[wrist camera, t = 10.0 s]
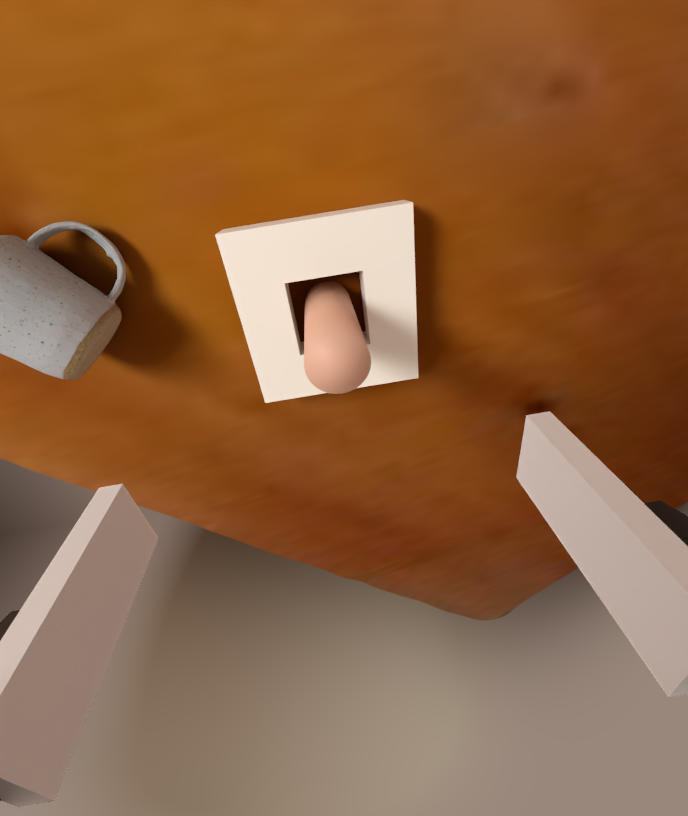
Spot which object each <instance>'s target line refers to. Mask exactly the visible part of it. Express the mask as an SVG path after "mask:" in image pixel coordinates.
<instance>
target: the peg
mask: <svg viewBox="0 0 688 816" xmlns="http://www.w3.org/2000/svg"><path fill="white" fill-rule="evenodd" d="M370 368H371V357H370V353H369V350H368V347H367V345H366V342H365V339H364V336H363V333H362V330H361V328H360V325H359V322H358V319H357V316H356V313H355V311H354V308H353V305H352V302H351V299H350V297H349V294H348V292H347V291H346V289H345V288H344V287H343V286H342V285H340V284H338V283H336V282H333V281H323V282H319V283H317V284H315V285H314V286H313V287H312V288H311V289H310V290H309V291H308V293H307V295H306V298H305V321H304V369H305V373H306V376H307V378H308V379H309V381H310V382H311V383H312V384H313V385H314V386H315V387H316V388H318V389H320V390H322V391H324V392H327V393H332V394H340V393H346V392H349V391H352V390H354V389H355V388H357V387H358V386H360V385H361V384H362V383H363V382H364V381H365V379H366V378H367V376H368V374H369V372H370Z"/></svg>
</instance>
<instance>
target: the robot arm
mask: <svg viewBox="0 0 688 816" xmlns="http://www.w3.org/2000/svg"><path fill="white" fill-rule="evenodd" d="M516 478H517V479H518V481H519V482H520V483H521V485H522V486H523V488H524V489H525V491H526V492H527V494H528V495H529V496H530V498H531V499H532V501H533V502H534V504H535V505H536V507H537V508H538V509H539V511H540V512H541V514H542V515H543V517H544V518H545V520H546V521H547V523H548V524H549V525H550V527H551V528H552V530H553V531H554V533H555V534H556V536H557V537H558V538H559V540H560V541H561V543H562V544H563V546H564V547H565V549H566V550H567V551H568V553H569V554H570V556H571V557H572V559H573V560H574V562H575V563H576V564H577V566H578V567H579V569H580V570H581V572H582V573H583V575H584V576H585V577H586V579H587V580H588V582H589V583H590V585H591V586H592V588H593V589H594V590H595V592H596V593H597V595H598V596H599V598H600V599H601V601H602V602H603V603H604V605H605V606H606V608H607V609H608V611H609V612H610V613H611V615H612V616H613V618H614V619H615V621H616V622H617V624H618V625H619V627H620V628H621V629H622V631H623V632H624V634H625V635H626V637H627V638H628V640H629V641H630V642H631V644H632V645H633V647H634V648H635V650H636V651H637V653H638V654H639V655H640V657H641V658H642V660H643V661H644V663H645V664H646V666H647V667H648V668H649V670H650V671H651V673H652V674H653V676H654V677H655V679H656V680H657V681H658V683H659V684H660V685H661V687H662V689H663V690H664V692H665V693H666V694H667V696H668V697H672V696H679V695H685V694H688V517H687V516H686V515H685V514H683V513H681V512H679V511H678V510H676V509H674V508H672V507H670V506H669V505H667V504H665V503H663V502H662V501H656V502H650V503H643V502H642V501H641V500H640V499H639V498H638V497H637V496H636V495H635V494H634V493H633V492H632V491H631V490H630V489H629V488H628V487H627V486H626V485H625V484H623V483H622V482H621V481H620V480H619V479H618V478H617V477H616V476H615V475H614V474H613V473H612V472H611V471H610V470H609V469H608V468H607V467H606V466H605V465H604V464H603V463H602V462H601V461H600V460H599V459H598V458H597V457H596V456H595V455H594V454H593V453H592V452H591V451H590V450H589V449H588V448H587V447H586V446H585V445H584V444H583V443H582V442H581V441H580V440H579V439H578V438H577V437H576V436H574V435H573V434H572V433H571V432H570V431H569V430H568V429H567V428H566V427H565V426H564V425H563V424H562V423H561V422H560V421H559V420H558V419H557V418H556V417H555V416H554V415H553V414H552V413H551V412H550V411H549V412H544V413H538V414H532V415H526V421H525V427H524V433H523V439H522V446H521V452H520V458H519V464H518V471H517V477H516ZM157 540H158V537H157V535H156V534H155V532H154V531H153V529H152V527H151V526H150V525H149V523H148V521H147V520H146V518H145V517H144V515H143V514H142V512H141V511H140V509H139V508H138V506H137V505H136V503H135V502H134V500H133V499H132V497H131V496H130V494H129V492H128V491H127V489H126V488H125V486H124V485H123V484H118V485H113V486H107V487H101V488H99V489H98V490H97V492H96V494H95V495H94V497H93V498H92V500H91V501H90V503H89V504H88V506H87V507H86V509H85V511H84V512H83V514H82V515H81V517H80V518H79V520H78V521H77V523H76V524H75V526H74V528H73V529H72V531H71V532H70V534H69V535H68V537H67V538H66V540H65V542H64V543H63V545H62V546H61V548H60V549H59V551H58V552H57V554H56V556H55V557H54V559H53V560H52V562H51V563H50V565H49V567H48V568H47V570H46V571H45V573H44V574H43V576H42V577H41V579H40V580H39V582H38V583H37V585H36V586H35V588H34V590H33V591H32V593H31V594H30V596H29V597H28V599H27V600H26V602H25V604H24V605H23V607H22V608H21V610H18V611H12V612H10V613H9V614H8V616H6V618H4V619H3V621H2V622H0V800H1V801H4V802H7V803H9V804H12V805H15V806H18V807H21V806H27V805H33V804H39V803H45V802H51V801H55V798H56V796H57V793H58V791H59V788H60V786H61V783H62V780H63V778H64V775H65V773H66V770H67V768H68V765H69V763H70V760H71V758H72V755H73V753H74V750H75V748H76V745H77V743H78V740H79V737H80V735H81V732H82V730H83V727H84V725H85V722H86V720H87V717H88V715H89V712H90V710H91V707H92V705H93V702H94V700H95V697H96V694H97V692H98V689H99V687H100V685H101V682H102V679H103V677H104V674H105V672H106V669H107V667H108V664H109V662H110V659H111V657H112V654H113V652H114V649H115V647H116V644H117V642H118V639H119V636H120V634H121V631H122V629H123V626H124V624H125V621H126V619H127V616H128V613H129V611H130V609H131V606H132V604H133V601H134V599H135V596H136V594H137V591H138V589H139V586H140V584H141V581H142V578H143V576H144V573H145V571H146V568H147V566H148V563H149V561H150V558H151V556H152V553H153V551H154V548H155V546H156V543H157Z"/></svg>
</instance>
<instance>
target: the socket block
mask: <svg viewBox="0 0 688 816" xmlns="http://www.w3.org/2000/svg"><path fill="white" fill-rule="evenodd" d="M215 236H216V239H217V243H218V246H219V249H220V253H221V256H222V259H223V263H224V266H225V270H226V273H227V276H228V280H229V283H230V286H231V290H232V293H233V296H234V300H235V303H236V306H237V310H238V313H239V316H240V320H241V323H242V326H243V330H244V333H245V336H246V340H247V343H248V347H249V350H250V353H251V357H252V360H253V363H254V367H255V370H256V373H257V377H258V380H259V383H260V387H261V390H262V393H263V397H264V400H265V403H268V402H274V401H280V400H286V399H292V398H299V397H305V396H311V395H317V394H323V393H327V392H324V391H322V390H320V389H318V388H316V387H315V386H314V385H313V384H312V383H311V382H310V381H309V379H308V378H307V376H306V373H305V369H304V342H301V341H300V336H299V332H298V327H297V322H296V318H295V313H294V308H293V304H292V299H291V294H290V290H289V285H288V283H290V282H297V281H303V280H309V279H315V278H321V277H327V276H333V275H339V274H346V273H352V272H358V271H359V276H360V285H361V294H362V303H363V312H364V321H365V330H366V331H365V332H362V333H363V336H364V339H365V342H366V345H367V347H368V350H369V353H370V357H371V368H370V372H369V374H368V376H367V378H366V379H365V381H364V382H363V383H362V384H361V385H360V386H358V387H357V388H360V387H366V386H372V385H378V384H384V383H391V382H397V381H403V380H409V379H415V378H418V346H417V312H416V279H415V246H414V213H413V202H410V201H406V200H400V201H393V202H387V203H381V204H375V205H369V206H363V207H357V208H351V209H344V210H338V211H332V212H326V213H320V214H314V215H308V216H301V217H295V218H289V219H283V220H277V221H271V222H265V223H258V224H252V225H246V226H240V227H234V228H228V229H223V230H221V231H220V232H218V233H217V234H215Z"/></svg>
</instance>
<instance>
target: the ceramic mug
mask: <svg viewBox="0 0 688 816" xmlns="http://www.w3.org/2000/svg"><path fill="white" fill-rule="evenodd" d="M67 230H79V231H81V232H83V233H85V234H87V235H88V236H89V237H91V238H92V239H93V240H95V241H96V242H97V243H98V244H99V245H100V246H102V247H103V248H104V250H105V251H106V253H107V256H109V257H110V258H112V259H113V260H114V262H115V264H116V265H117V280H116V282H115V285H114V287H113V290H112V291H111V292H110V294H109V295H108V296H106V295H105V294H103V293H102V292H100V291H99V290H98V289H97V288H95V287H93V286H91V285H90V284H88V283H87V282H86V281H84V280H83V279H80V278H79V277H77V276H76V275H74V274H73V273H72V272H70V271H69V270H68V269H66V268H64V267H63V266H62V265H61V264H59V263H58V262H56V261H55V260H53V259H52V258H51V257H49V256H48V255H46V254H44V253H43V252H42V251H41V250H39V246H40V245H41V244H42V243H43V242H44V241H45V240H47V239H48V238H49V237H51V236H53V235H55V234H57V233H60V232H62V231H67ZM125 280H126V265H125V263H124V260H123V257H122V255H121V254H120V252H119V250H118V249H117V247H116V246H115V245H114V244H113V243H112V242H111V241H110V240H109V239H107V238H106V237H105V236H104V235H102V234H101V233H100V232H99V231H97V230H96V229H94V228H92V227H90V226H89V225H86V224H83V223H78V222H74V221H66V222H57V223H52V224H50V225H48V226H46V227H44V228H42V229H40V230H38V231H37V232H35V233H34V234H33V235H32V236H31V237H29V238H28V239H27V241H24V240H23V239H22V238H20V237H17V236H14V235H3V236H0V353H1V354H3V355H6V356H8V357H10V358H13V359H15V360H17V361H20V362H22V363H24V364H26V365H28V366H30V367H32V368H34V369H36V370H38V371H41V372H43V373H45V374H48V375H51V376H54V377H58V378H61V379H65V380H74V379H77V378H80V377H81V376H82V375H83V374H84V373H85V372H86V371H87V370H88V369H89V368H90V367H91V366H92V365H93V363H94V362H95V361H96V360H97V358H98V357H99V356H100V354H101V353H102V351H103V350H104V349H105V347H106V346H107V344H108V343H109V341H110V340H111V338H112V337H113V335H114V333H115V332H116V330H117V328H118V326H119V324H120V322H121V319H122V314H121V311H120V308H119V307H118V306H117V305H116V304H115V300H116V299H117V297H118V296H119V295H120V293H121V292H122V289H123V286H124V283H125Z"/></svg>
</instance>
